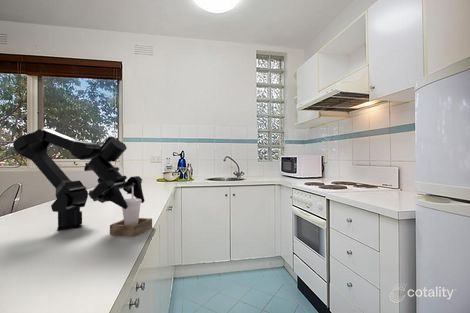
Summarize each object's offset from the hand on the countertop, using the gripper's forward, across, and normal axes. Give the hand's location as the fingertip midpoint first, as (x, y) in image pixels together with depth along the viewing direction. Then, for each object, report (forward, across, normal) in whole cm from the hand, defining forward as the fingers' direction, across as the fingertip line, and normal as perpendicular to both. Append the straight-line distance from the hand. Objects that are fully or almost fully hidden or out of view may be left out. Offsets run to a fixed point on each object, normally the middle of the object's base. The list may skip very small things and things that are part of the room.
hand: (135, 204), depth 77 cm
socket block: (+5, 0, -7) cm, 9 cm away
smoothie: (+5, 0, -7) cm, 8 cm away
